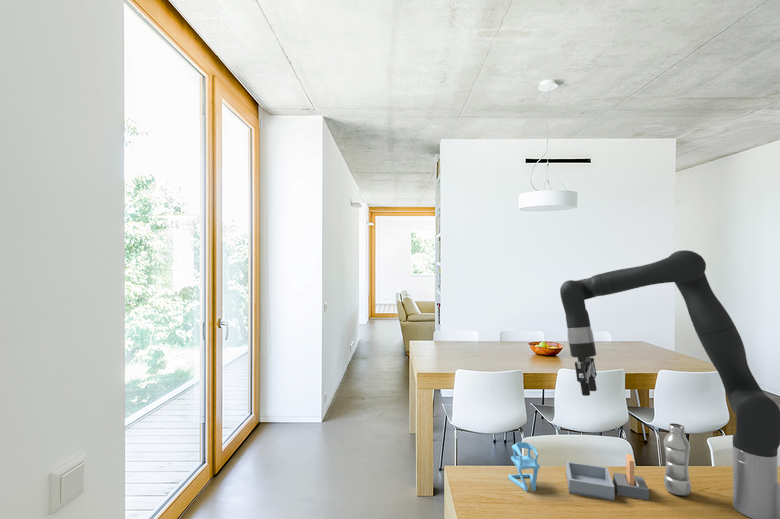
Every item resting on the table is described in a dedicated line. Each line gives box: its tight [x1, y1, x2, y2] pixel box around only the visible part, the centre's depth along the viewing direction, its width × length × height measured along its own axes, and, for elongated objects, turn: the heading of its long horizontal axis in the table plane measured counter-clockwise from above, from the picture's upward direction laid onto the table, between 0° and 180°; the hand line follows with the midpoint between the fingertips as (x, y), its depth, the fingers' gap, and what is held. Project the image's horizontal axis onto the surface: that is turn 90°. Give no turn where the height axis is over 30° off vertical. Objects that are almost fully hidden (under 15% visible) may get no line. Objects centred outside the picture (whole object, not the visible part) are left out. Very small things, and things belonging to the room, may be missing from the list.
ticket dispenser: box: [612, 472, 650, 501], centre depth 123 cm, size 8×8×4 cm
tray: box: [565, 460, 615, 502], centre depth 125 cm, size 12×12×4 cm
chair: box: [507, 441, 541, 492], centre depth 126 cm, size 8×8×12 cm
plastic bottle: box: [663, 422, 692, 497], centre depth 122 cm, size 6×7×20 cm
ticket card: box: [625, 453, 635, 486], centre depth 123 cm, size 1×4×10 cm, turn 161°
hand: (589, 393), depth 130 cm, fingers open, 8 cm apart
